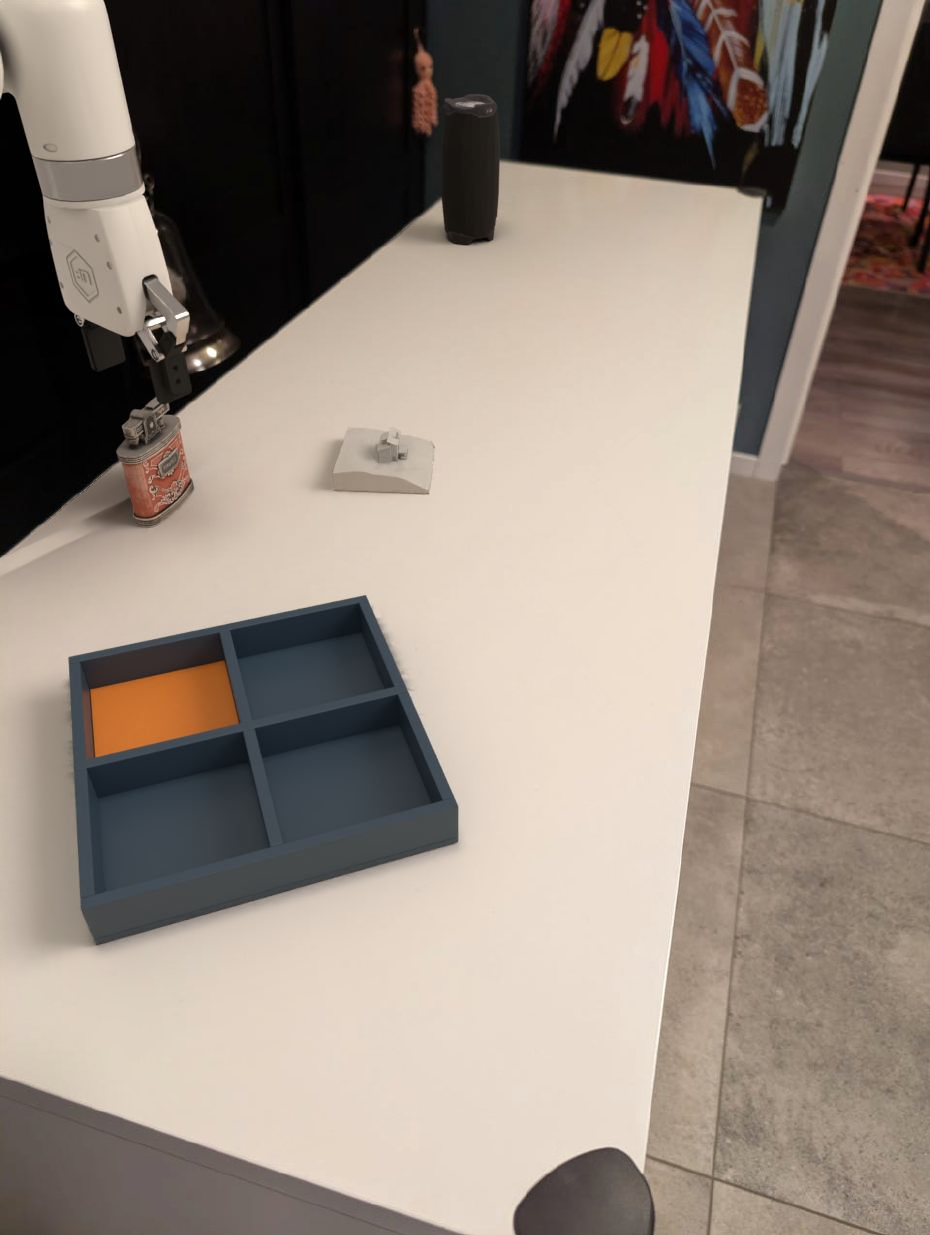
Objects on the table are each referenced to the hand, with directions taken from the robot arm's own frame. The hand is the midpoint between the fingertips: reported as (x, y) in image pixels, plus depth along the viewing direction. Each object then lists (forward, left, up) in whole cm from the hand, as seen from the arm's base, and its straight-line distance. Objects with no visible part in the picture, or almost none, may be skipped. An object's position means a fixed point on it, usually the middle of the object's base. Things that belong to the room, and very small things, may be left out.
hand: (141, 381), depth 84 cm
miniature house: (+11, +19, -13) cm, 25 cm away
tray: (+32, -16, -13) cm, 38 cm away
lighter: (0, 0, -13) cm, 13 cm away
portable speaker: (-28, +78, -13) cm, 84 cm away
